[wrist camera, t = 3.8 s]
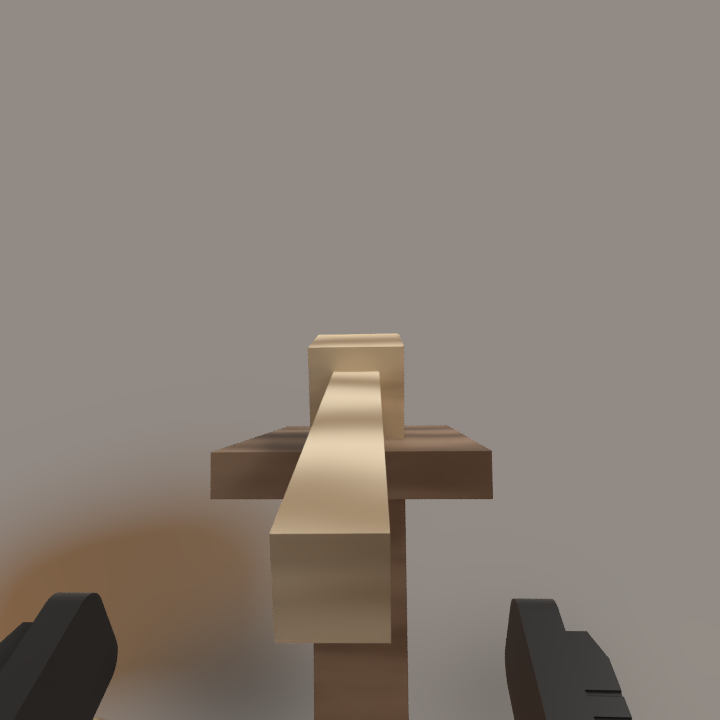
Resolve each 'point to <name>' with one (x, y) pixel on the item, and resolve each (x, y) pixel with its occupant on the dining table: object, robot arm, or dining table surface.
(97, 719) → the dining table surface
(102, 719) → the dining table surface
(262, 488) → the stand
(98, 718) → the dining table surface
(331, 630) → the mallet
